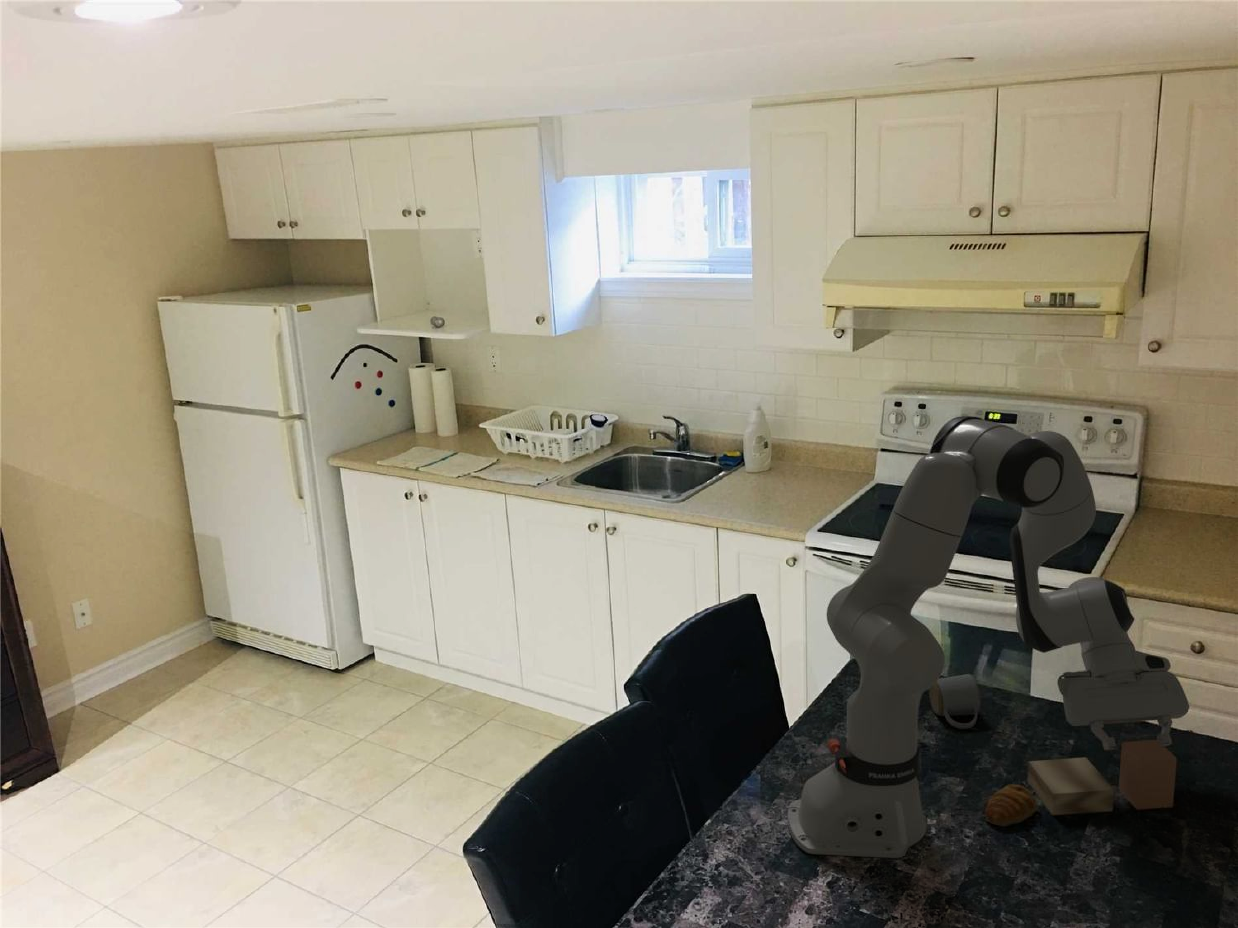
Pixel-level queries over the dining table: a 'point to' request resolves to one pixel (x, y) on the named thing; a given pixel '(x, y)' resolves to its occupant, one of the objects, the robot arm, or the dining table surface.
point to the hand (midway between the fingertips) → (1138, 746)
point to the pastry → (1010, 806)
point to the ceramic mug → (956, 698)
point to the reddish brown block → (1147, 774)
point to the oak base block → (1070, 786)
